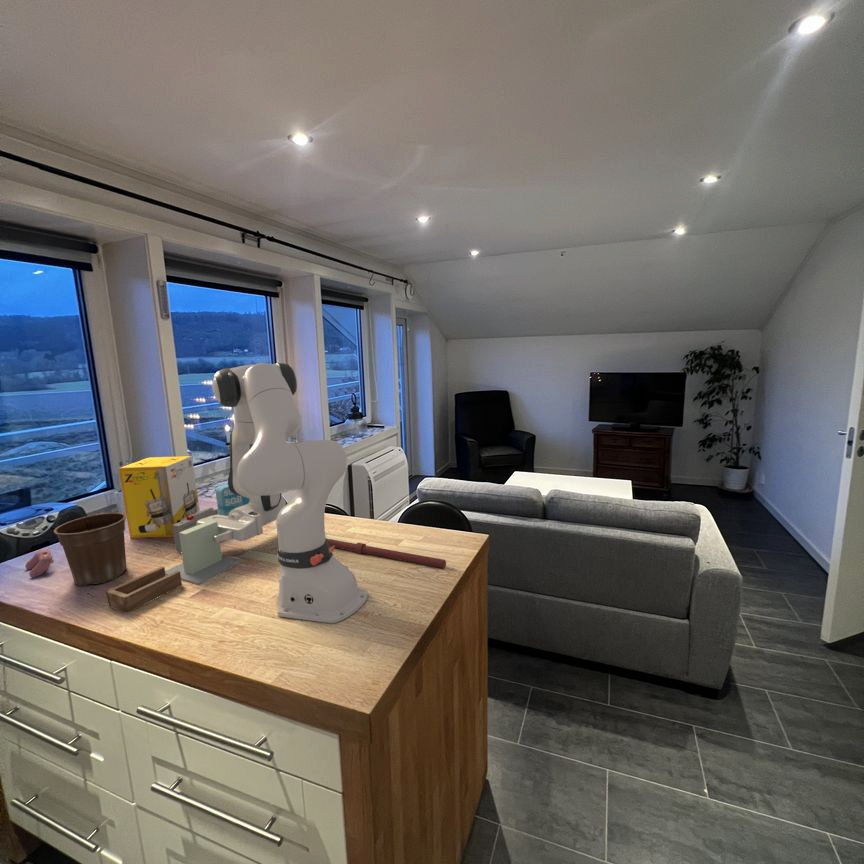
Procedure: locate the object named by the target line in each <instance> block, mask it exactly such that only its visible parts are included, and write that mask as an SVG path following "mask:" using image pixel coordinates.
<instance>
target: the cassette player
mask: <svg viewBox="0 0 864 864" xmlns="http://www.w3.org/2000/svg"><path fill="white" fill-rule="evenodd" d="M213 515H219V514H218V508H214V507H212V506H210V507H207V508H205V509H203V510H200V512H198V513H195V514H193V515H190V516H188V517H187V519H186V520H184V521H181V522H179V523H176V524H174V525H172V526H173V533H174V537H173V538H174V539H173V540H174V545H175V552H176V551H177V552H176V553H181V552H182V551H181V544H180V537H179V532H182V531H184V530H187V529H189V528H192V527H194V526H196V522H197V521H198V520H200V519H203V518H206V517H209V516H213Z"/></svg>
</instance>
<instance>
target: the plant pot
mask: <svg viewBox="0 0 864 864" xmlns="http://www.w3.org/2000/svg"><path fill="white" fill-rule="evenodd" d="M125 520H127V516H126V513H122V512H105V513H97V514H92V515H88V516H83V517H79V518H76V519H73V520H70V521H67V522H65V523H63V524H61V525H58V526H57V527H56V528H54V530H53V533H54V535H56V536H57V539H58V541H59V544H60V546H62V549H63V551H64V555H65V557H66V561H67V563H68V566H69V569H70V573H71V575H72V579H73V582H74V584H75V585H76V586H81V587H85V586H86V587H88V586H89V585H91V584H95V585H98V584H102V583H106V582H109V581H111V580H114V579H116V578H118V577H119V576H122V575H123V574H124V572H125V571H127V567H128V566H127V556H126V543H125V531H126V521H125Z"/></svg>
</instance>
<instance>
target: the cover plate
mask: <svg viewBox="0 0 864 864" xmlns="http://www.w3.org/2000/svg"><path fill="white" fill-rule="evenodd" d="M216 534H219V532H218V524H217V521H212V520H210V521H207V522H205V523H202V524H200V525H197V526H194V527H192V528H189V529H187V530H184V531H182V532H179V537H180V544H181V551H182V553H181V555H182V556H181V557H182V563H183V565H184V572H185V573H187V574H191V575H192V574H194V573H196V572H198V571H200V570H202V569H204V568H206V567H208V566H210V565H212V564H214V563H216V562H218V561H220V560H222V555H223V554H222V547H221V541H220V542H214V541H213V536H214V535H216Z"/></svg>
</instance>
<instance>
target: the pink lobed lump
mask: <svg viewBox="0 0 864 864" xmlns="http://www.w3.org/2000/svg"><path fill="white" fill-rule="evenodd" d="M54 561H55V559H53V555H52V553H51V550H50V549H47V548H44V549H38V550H37V552H36V553H35V554H34V555H33V556H32V557H31V558H30V559H29V560H28V561H27V562H26V563H25V566H24V567H25V569H26V570H30V572H29V577H30V578H36V577H39V576H40V575H42V574H43V573H44V572H46V571H47V570H48V568H49V567H50V566H51V564H53V563H54ZM30 568H32V569H30Z"/></svg>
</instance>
